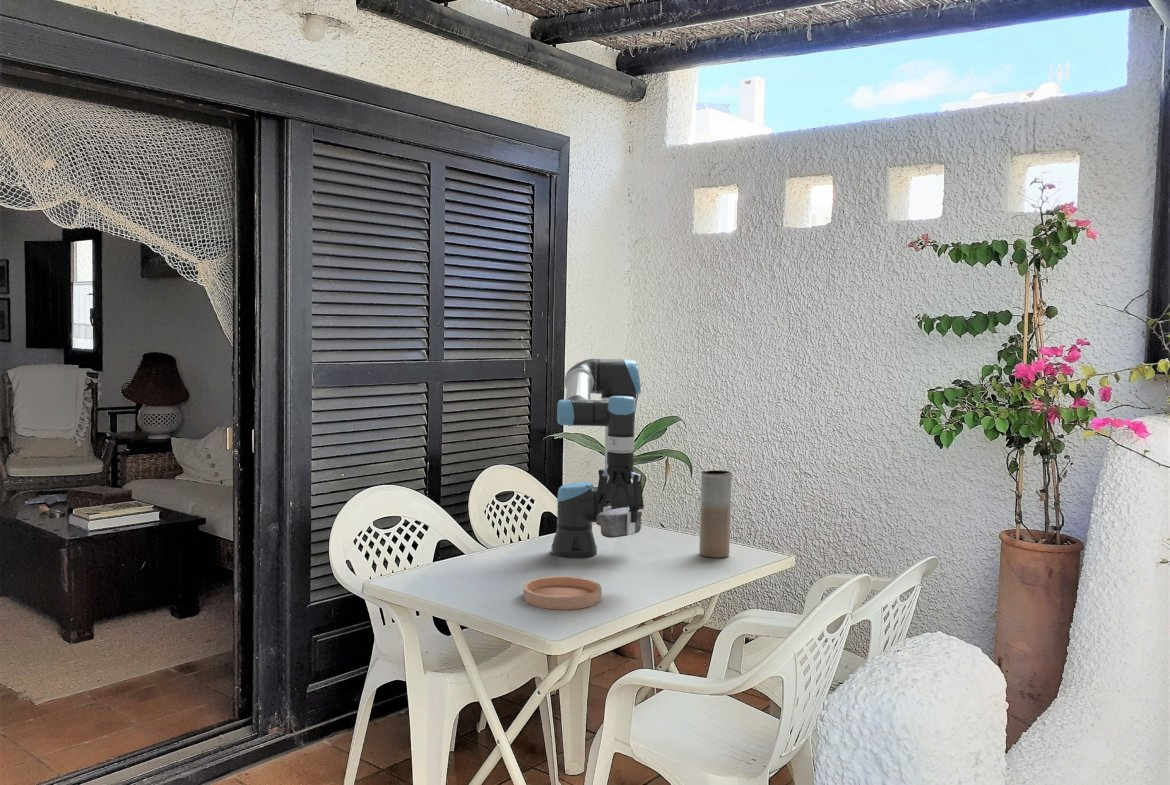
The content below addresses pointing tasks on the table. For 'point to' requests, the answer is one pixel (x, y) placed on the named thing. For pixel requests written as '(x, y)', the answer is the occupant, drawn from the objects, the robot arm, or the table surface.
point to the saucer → (562, 593)
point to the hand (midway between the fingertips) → (618, 531)
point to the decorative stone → (616, 522)
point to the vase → (715, 513)
